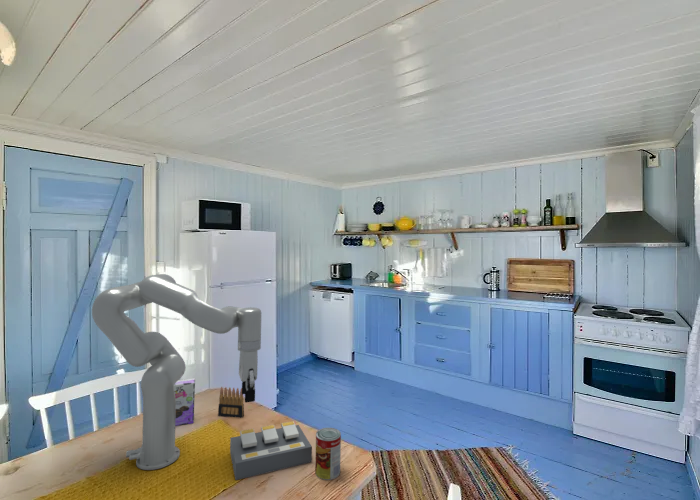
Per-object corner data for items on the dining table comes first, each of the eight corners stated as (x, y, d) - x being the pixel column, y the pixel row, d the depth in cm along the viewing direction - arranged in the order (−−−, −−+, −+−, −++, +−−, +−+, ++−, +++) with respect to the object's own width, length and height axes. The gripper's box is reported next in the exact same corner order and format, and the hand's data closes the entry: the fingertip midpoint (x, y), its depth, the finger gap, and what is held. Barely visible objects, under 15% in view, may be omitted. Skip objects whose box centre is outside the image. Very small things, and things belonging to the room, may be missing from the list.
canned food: (323, 461, 115) (324, 425, 115) (344, 469, 111) (345, 431, 112) (310, 475, 108) (310, 436, 108) (332, 483, 104) (332, 442, 105)
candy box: (154, 429, 134) (155, 386, 134) (156, 422, 140) (157, 381, 140) (193, 423, 139) (194, 382, 140) (194, 417, 145) (195, 377, 145)
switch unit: (235, 480, 105) (235, 459, 105) (230, 452, 120) (230, 433, 120) (311, 461, 115) (311, 442, 115) (298, 438, 129) (298, 421, 130)
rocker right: (285, 439, 118) (286, 435, 117) (281, 426, 124) (281, 423, 124) (298, 436, 119) (298, 433, 119) (293, 424, 126) (293, 420, 125)
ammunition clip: (244, 416, 147) (244, 387, 147) (242, 418, 145) (242, 389, 145) (220, 414, 148) (220, 385, 148) (217, 416, 146) (218, 387, 146)
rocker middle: (264, 443, 115) (265, 440, 114) (261, 430, 121) (261, 426, 121) (278, 440, 116) (278, 437, 116) (273, 427, 123) (274, 424, 123)
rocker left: (242, 448, 112) (243, 444, 112) (240, 434, 118) (240, 430, 118) (256, 445, 114) (257, 441, 113) (253, 431, 120) (253, 428, 120)
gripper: (234, 339, 125) (233, 389, 125) (241, 352, 109) (239, 409, 109) (256, 337, 128) (255, 386, 128) (265, 350, 112) (264, 405, 112)
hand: (248, 397), depth 118 cm, fingers open, 6 cm apart
